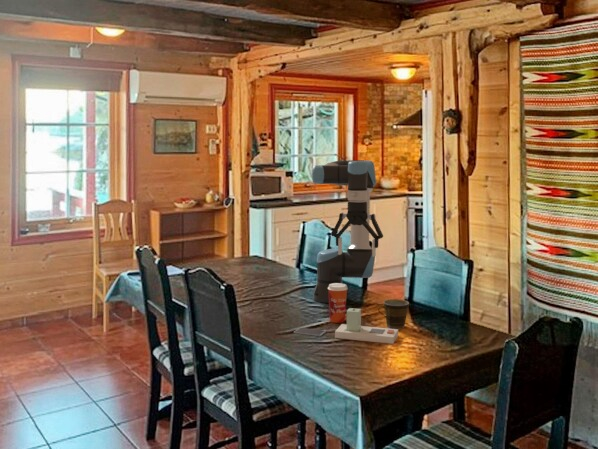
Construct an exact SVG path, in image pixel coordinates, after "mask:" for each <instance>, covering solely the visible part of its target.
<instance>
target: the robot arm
mask: <svg viewBox="0 0 598 449" xmlns="http://www.w3.org/2000/svg"><path fill="white" fill-rule="evenodd" d="M375 169H376V168H375V164H374V162H373V161H372V160H365V159H363V160H361V159H360V160H359V159H358V160H357V159H356V160H355V159H353V160H351V159H350V160H348V159H347V160H343V159H342V160H336V161H331V162H328V163H327V162H326V164H317V165H314V166H313V165H312V170H311V172H312V174H311V179H312V183H313V184H317V185H335V186H347V200H348V202H347V213H344V212H341V213H339V217H338V220H337V222H336V224H335V226H334V228H333V229H332V232H331V233H330V235H331V236H332V237H334V238H335V246H337V247H338V248H328V249H324V250H321V251H319V252H318V253H317V255H316V258H317V259H316V265H317V266H316V285H315V288H314V290H313V293H312V294H313V295H312V299H313V301H315V302H317V303H318V302H319V303H325V304H329V291H328V287H329V284H333V283H342V284H343V278H350V279H351V278H353V279H354V278H355V279H360V278H361V279H364V278H365V279H367V278H368V279H369V278H371V277H373V274H374V267H375V260H376V254H377V253H376V252H377V249H378V248H379V240H380V239H382V238H383V237H384V234H383V232H382V230H381V228H380V226H379V223H378V221H377V220H376V214H375V213H372V214H370V211H371V210H370V208H371V207H370V206H371V205H370V204H371V203H370V200H371V195H370V194H371V193H372V192H373V191H374V187H376V186H377V178H376V170H375ZM344 219H347V220H348V221H347V222H346V223H345V224H344V226H343V227H342V228H341V229H340V226H341V225H342V223H343V220H344ZM370 221H371V223H372V226H373V228H374V229H373V228H372V227H371V225H370ZM349 227H350V244H349V246H348V247H347V249H346V251H344V252H343V237H341V236H342V235H343V233H345V231H346V230H347V229H348V228H349ZM339 229H340V230H339ZM370 235H371V236H372V238H373V239H371V240H372V241H371V242H372V244H371V245H372V246H371V245H370Z"/></svg>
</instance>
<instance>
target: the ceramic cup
mask: <svg viewBox="0 0 598 449" xmlns="http://www.w3.org/2000/svg"><path fill="white" fill-rule="evenodd" d="M409 306H410V302H409V301H408V300H406V299H405V300H404V299H398V298H397V299H395V298H393V299H386V300H384V301H383V305H379V306H378V308H377V311H378V313H380V314H381V315H382V316H383V317H384V318H385V321H386V328H389V329H398V330H402V329H404V327H405V326H406V321H407V315H408V311H409ZM381 308H383V309H384V313H383V312H381V310H380V309H381Z"/></svg>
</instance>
